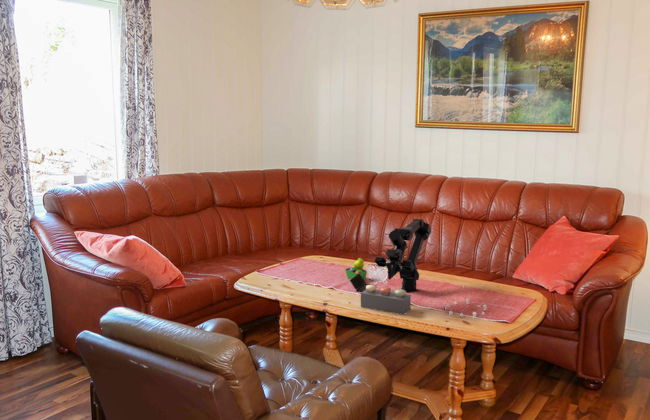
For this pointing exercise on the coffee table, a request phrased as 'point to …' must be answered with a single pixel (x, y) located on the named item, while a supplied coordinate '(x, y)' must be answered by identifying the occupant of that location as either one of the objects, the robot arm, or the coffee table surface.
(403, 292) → the green button
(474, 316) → the game piece set
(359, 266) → the fruit basket
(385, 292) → the red button
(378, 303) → the button panel
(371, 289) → the cream button
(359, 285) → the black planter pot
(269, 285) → the coffee table surface
